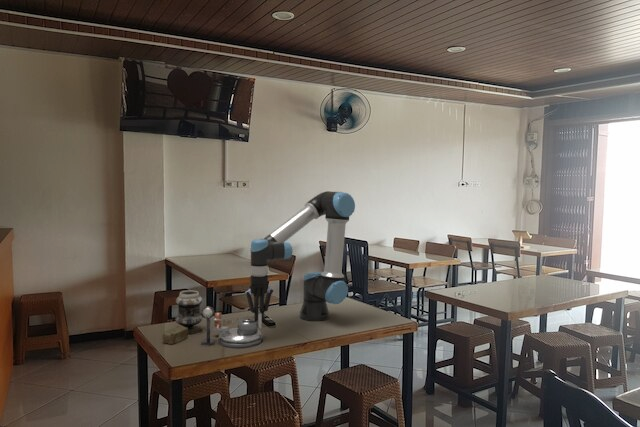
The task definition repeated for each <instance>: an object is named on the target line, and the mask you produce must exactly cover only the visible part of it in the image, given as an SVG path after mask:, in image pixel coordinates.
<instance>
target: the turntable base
mask: <svg viewBox="0 0 640 427" xmlns="http://www.w3.org/2000/svg"><path fill="white" fill-rule="evenodd" d="M217 342H218V344H219V345H220V346H222V347H225V348H230V349H246V348H251V347H256V346H259V345H260V344H261V343H263V334H261V338H260V339H258V340H256V341H253V342H248V343H228V342H224V341H222V340H220V338H219V336H218V337H217Z"/></svg>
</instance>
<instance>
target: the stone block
mask: <svg viewBox="0 0 640 427" xmlns="http://www.w3.org/2000/svg"><path fill="white" fill-rule="evenodd" d="M188 337H189V334H188V328H186V327H184V326H182V325H177V326H175V327H172V328H171V329H168V330H166V331H164V332H162V342H163V343H164V344H167V343H168V344H167V345H175V344H177V343H179V342H182V341H183V339H184V340H186V339H188ZM181 340H182V341H181ZM174 343H175V344H174Z"/></svg>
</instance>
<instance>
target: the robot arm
mask: <svg viewBox="0 0 640 427" xmlns="http://www.w3.org/2000/svg"><path fill="white" fill-rule="evenodd" d="M355 209H356V204H355V200H354V198H353V196H352V195H351V194H349V193H348V192H343V191H328V190H327V191H323V192H320V193H319V194H316V195H314V197H312V198H310V199H309V200H308V201H307V202H306V203H304V207H303V208H301V209H300V210H299V211H297V212H296V213H295V214H293V215H292V216H291V217H290V218H288V219H287V220H286V221H284V223H282V224H281V225H280V226H278V227H277V228H276V229H274V230H272V231H271V233H269V234H267V236H265V237H264V238H258V239H257V238H256V239H253V240H252V241H251V243H250V285H249V289H248V290H246V291H244V295H245V296H246V299H247V302H248V308H249V312H251V313H253V315H254V318H253V319H255V320H256V321H258V329H262V321H263V320H264V314H265V312H267V311H268V310H269V306H270V301H271V298H272V295H273V293H274V290H273V289H272V288H270V287H269V284H268V282H269V276H268V274H269V261H276V260H277V261H278V260H286V259H287V260H288V259H290V258H291V257H292V256H293V246H292V244H291V243H290V242H287V241H288V240H289V239H290V238H291V237H293V236H294V235H296V234H297V233H298V232H300V230H302V229H303V228H304V227H306V226H307V225H308V224H310V222H312V221H313V220H318V219H319V218H320V217H322V216H325V217H324V218H325V221H327V232H326V245H325V246H326V247H325V258H324V270H323V271H312V272H306V273H305V274H304V276H303V280H302V281H303V303H302V305H301V308H300V311H299V318H300V319H302V320H305V321H310V322H314V321H316V322H319V321H325V320H328V319H330V310H329V308H328V304H334V305H338V304H341V303H343V302H344V300H346V298H347V296H348V293H349V287H348V286H349V285H347V283H346V282H345V275H344V274H343V271H342V270H343V259H344V250H345V249H344V248H345V234H346V224H347V223H348V222H349V221H350V217H351V216H352V215H353V213H355ZM265 294H266V295H265ZM252 295H253V297H252ZM327 303H328V304H327Z"/></svg>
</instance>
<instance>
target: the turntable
mask: <svg viewBox="0 0 640 427" xmlns="http://www.w3.org/2000/svg"><path fill="white" fill-rule="evenodd" d="M214 319H221V320H214V326H213V327H212V331H217V332H220V333H219V334H218V337H219V338H220V340H222V341H224V342H228V343H248V342H253V341H256V340H258V339H260V338H261V335H262V332H261V331H260V330H259V329H258V333H257V334H254V335H249V336H244V335H239V334H237V327H231V328H230V327H229V326H225V325H224V326H223V325H222V312H221V311H220V312H218V311H217V312H214Z"/></svg>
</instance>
